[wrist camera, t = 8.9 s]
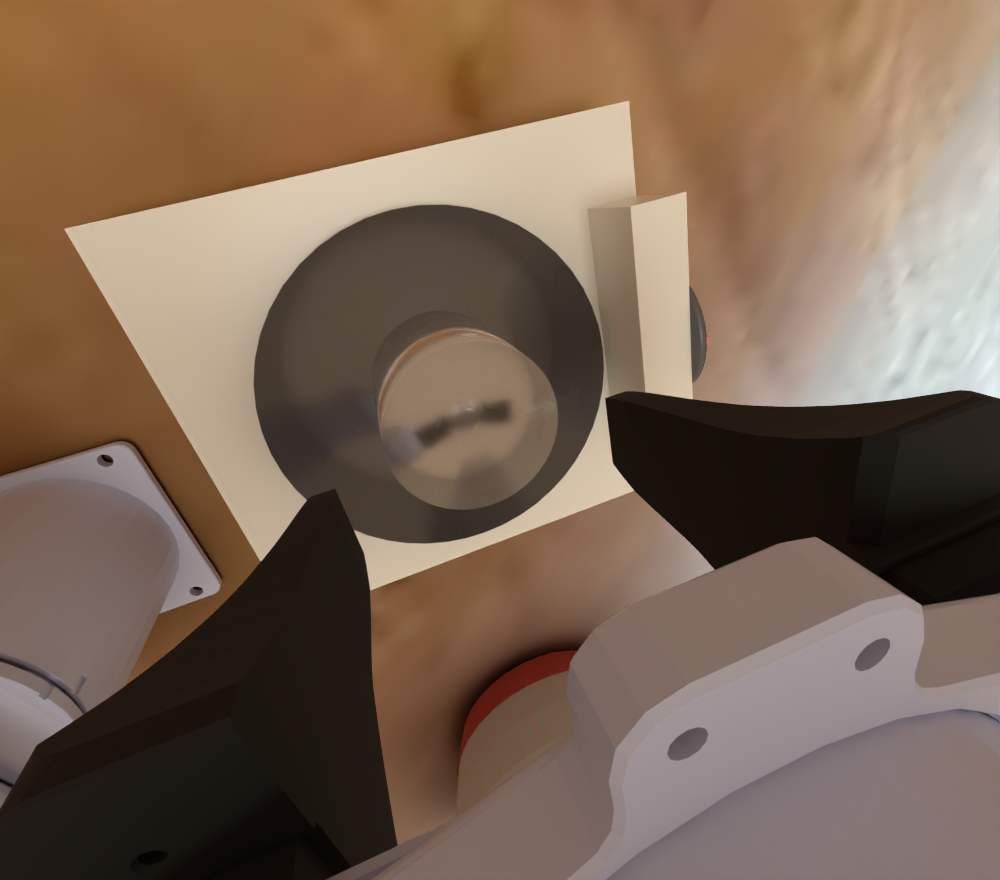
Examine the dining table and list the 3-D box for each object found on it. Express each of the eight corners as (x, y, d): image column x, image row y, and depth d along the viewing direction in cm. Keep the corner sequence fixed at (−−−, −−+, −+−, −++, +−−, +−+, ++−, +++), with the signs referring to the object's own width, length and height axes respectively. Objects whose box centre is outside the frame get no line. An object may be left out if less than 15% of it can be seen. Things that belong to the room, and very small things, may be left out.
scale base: (299, 574, 24) (286, 686, 18) (108, 227, 16) (-16, 230, 11) (633, 453, 27) (712, 516, 21) (600, 114, 19) (707, 70, 14)
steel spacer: (401, 461, 19) (420, 534, 14) (347, 338, 16) (350, 381, 12) (520, 414, 19) (572, 471, 15) (485, 290, 17) (536, 314, 13)
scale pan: (338, 574, 21) (338, 586, 20) (182, 261, 15) (174, 263, 14) (610, 474, 23) (618, 482, 22) (570, 165, 17) (580, 163, 16)
